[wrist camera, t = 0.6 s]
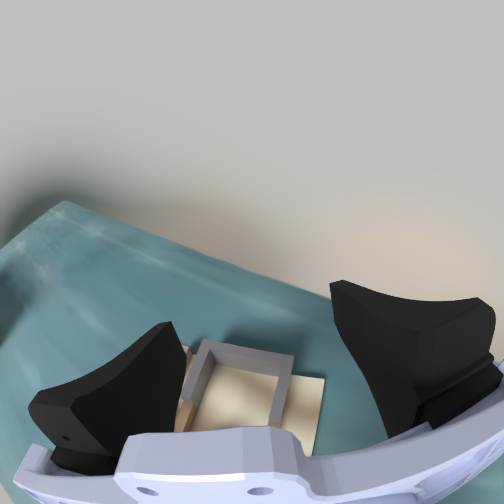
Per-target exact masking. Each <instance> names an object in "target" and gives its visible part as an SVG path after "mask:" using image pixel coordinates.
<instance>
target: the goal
mask: <svg viewBox="0 0 504 504" xmlns="http://www.w3.org/2000/svg"><path fill="white" fill-rule="evenodd" d="M293 362H294V356H293V355H286V354H280V353H274V352H268V351H263V350H257V349H252V348H247V347H242V346H237V345H232V344H227V343H223V342H218V341H214V340H209V339H205V338H203V340H202V343H201V345H200V347H199V350H198V352H197V355H196V357H195V359H194V362H193V364H192V367H191V369H190V371H189V374H188V376H187V379H186V381H185V384H184V386H183V388H182V391H181V395H180V396H181V398H182V399H183V400H185V401H188V402H191V403H194V405H195V406H196V407H197V408H198V409H199V406H200V403H201V401H202V398H203V395H204V393H205V390H206V387H207V385H208V382H209V379H210V377H211V374H212V371H213V368H214V366H215V364H218V365H222V366H226V367H231V368H235V369H240V370H244V371H249V372H254V373H259V374H264V375H270V376H276V377H279V378H278V382H277V386H276V390H275V395H274V399H273V403H272V407H271V411H270V415H269V422H272V423H277V424H280V422H281V418H282V414H283V409H284V405H285V401H286V396H287V392H288V387H289V382H290V378H291V373H292V367H293Z"/></svg>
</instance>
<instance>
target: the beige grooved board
mask: <svg viewBox="0 0 504 504" xmlns="http://www.w3.org/2000/svg"><path fill="white" fill-rule="evenodd" d="M182 347H183V349H184V351H185V353H186V356H187V361H186V373H185V378H184V382H183V386H184V384H185V381H186V379H187V376H188V374H189V371H190V369H191V367H192V364H193V362H194V359H195V357H196V355H195V354H192V353H191V351H190V348H189V347H187V346H183V345H182ZM278 378H279V377H276V376H270V375H264V374H259V373H254V372H249V371H244V370H240V369H235V368H231V367H226V366H222V365H218V364H215V366H214V368H213V371H212V374H211V377H210V379H209V382H208V385H207V387H206V390H205V393H204V395H203V398H202V401H201V403H200V406H199V409H198V408H197V407H196V406H195V405H194V403H191V402H188V401H185V400H183V399H182V398H181V396H180V399H179V403H178V408H177V412H176V418H175V429H174V432H192V431H205V430H216V429H225V428H233V427H240V426H266V425H268V426H271V427H275V428H279V429H283V430H286V431H290V432H292V433H293V434H294V435H295V437H296V438H297V439H298V440H299V441H300V442H301V444H302V448H303V452H304V454H305V456H306V457H308V456H311V454H312V450H313V445H314V440H315V435H316V429H317V424H318V418H319V412H320V406H321V400H322V394H323V387H324V380H325V379H319V378H311V377H304V376H297V375H291V378H290V382H289V387H288V392H287V396H286V401H285V405H284V409H283V414H282V418H281V422H280V424H277V423H272V422H269V415H270V411H271V407H272V403H273V399H274V395H275V390H276V386H277V382H278ZM182 388H183V387H182Z"/></svg>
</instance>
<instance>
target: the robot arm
mask: <svg viewBox="0 0 504 504" xmlns="http://www.w3.org/2000/svg"><path fill="white" fill-rule="evenodd" d="M330 292H331V299H332V306H333V313H334V321H335V324H336V327H337V329H338V332H339V334H340V336H341V338H342V340H343V342H344V344H345V345H346V347H347V348H348V350H349V352H350V353H351V355H352V357H353V358H354V360H355V361H356V363H357V365H358V366H359V368H360V370H361V371H362V373H363V375H364V377H365V379H366V381H367V383H368V385H369V387H370V390H371V392H372V394H373V397H374V399H375V402H376V404H377V407H378V409H379V412H380V415H381V418H382V420H383V423H384V426H385V429H386V432H387V435H388V438H389V439H388V440H385V441H383V442H380V443H378V444H375V445H372V446H370V447H367V448H364V449H360V450H355V451H349V452H342V453H335V454H327V455H319V456H308V457H306V456H305V454H304V452H303V448H302V444H301V442H300V441H299V440H298V439H297V438H296V437H295V435H294V434H293V433H292V432H290V431H286V430H283V429H279V428H275V427H271V426H268V425H266V426H240V427H233V428H225V429H216V430H205V431H192V432H174V429H175V418H176V412H177V408H178V403H179V399H180V395H181V391H182V387H183V382H184V378H185V373H186V361H187V356H186V353H185V351H184V349H183V347H182V345H181V343H180V340H179V338H178V336H177V334H176V332H175V329H174V327H173V325H172V322H171V321H169V322H164V323H159V324H157V325H156V326H154V327H153V328H152V329H150V330H149V331H148V332H146V333H145V334H144V335H143V336H142V337H140V338H139V339H138V340H137V341H136V342H134V343H133V344H132V345H131V346H130V347H128V348H127V349H126V350H124V351H123V352H122V353H121V354H119V355H118V356H117V357H115V358H114V359H112V360H111V361H109V362H108V363H106V364H105V365H103V366H102V367H100V368H98V369H96V370H94V371H92V372H90V373H89V374H87V375H85V376H83V377H80V378H78V379H76V380H73V381H71V382H68V383H65V384H62V385H59V386H56V387H52V388H48V389H45V390H41V391H39V392H38V393H37V394H36V396H35V397H34V398H33V400H32V401H31V403H30V404H29V406H28V410H29V413H30V416H31V418H32V420H33V421H34V423H35V424H36V425H37V426H38V427H39V429H40V430H41V431H42V432H43V433H44V434H45V435H46V436H47V437H48V438H49V439H50V441H51V442H52V443H53V444H54V445H55V446H56V448H55V450H54V451H52V450H51V449H49V448H47V447H44V446H41V445H38V444H35V443H32V445H31V447H30V448H29V450H28V452H27V454H26V456H25V457H24V459H23V461H22V463H21V465H20V467H19V469H18V471H17V473H16V474H15V476H14V478H13V482H14V483H15V484H16V485H18V486H19V487H20V488H21V489H23V490H24V491H25V492H26V493H28V494H29V495H30V496H32V497H33V498H34V499H36V500H37V501H39V502H40V503H41V504H435V503H436V502H438V501H440V500H441V499H443V498H445V497H446V496H448V495H449V494H451V493H452V492H454V491H455V490H457V489H458V488H460V487H461V486H463V485H464V484H465V483H467V482H468V481H470V480H471V479H472V478H474V477H475V476H476V475H478V474H479V473H480V472H481V471H483V470H484V469H485V468H486V467H488V466H489V465H490V464H491V463H492V462H494V461H495V460H496V459H497V458H498V457H499V456H501V455H502V454H503V453H504V360H503V361H502V362H501V363H500V364H499V365H498V367H496V366H495V365H494V364H493V363H492V362H493V361H494V356H493V355H492V354H491V353H489V349H490V345H491V342H492V338H493V334H494V330H495V324H496V318H495V312H494V310H493V308H492V307H490V306H489V305H488V304H486V303H485V302H484V301H482V300H481V299H479V298H477V297H476V298H470V299H463V300H455V301H420V300H410V299H404V298H399V297H394V296H390V295H386V294H383V293H379V292H376V291H373V290H370V289H367V288H365V287H362V286H359V285H356V284H354V283H351V282H348V281H345V280H340V281H336V282H333V283H330Z"/></svg>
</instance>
